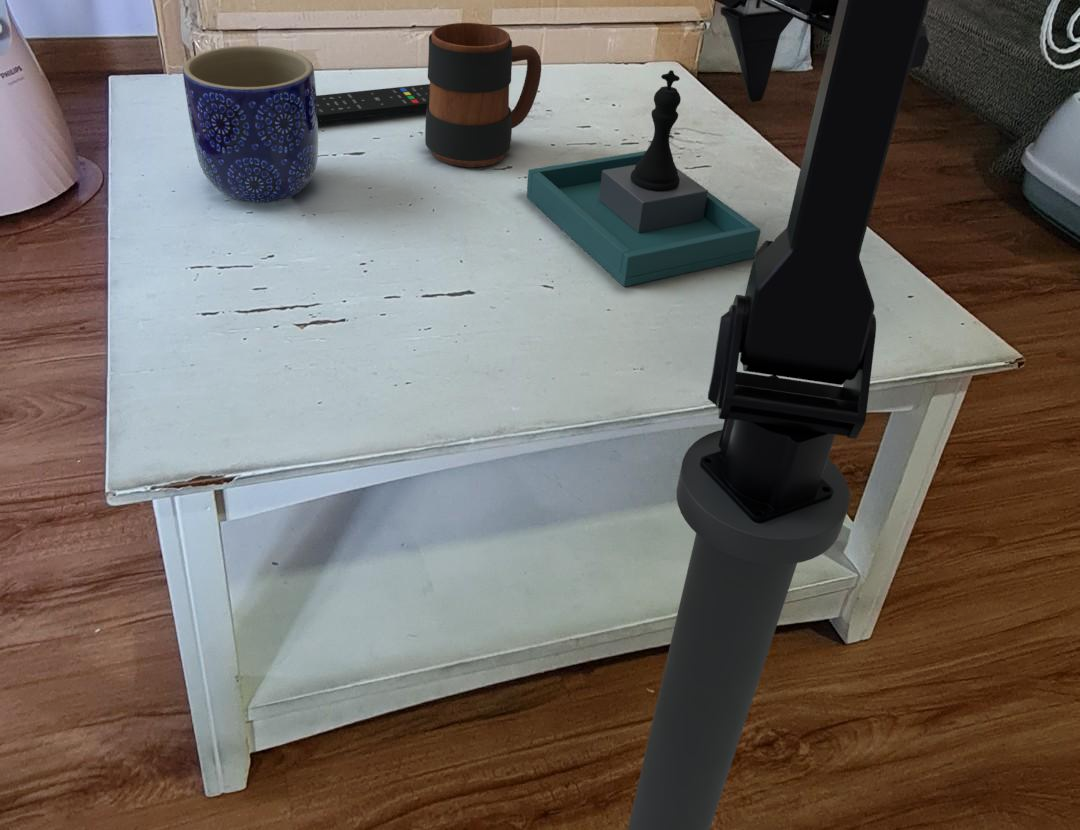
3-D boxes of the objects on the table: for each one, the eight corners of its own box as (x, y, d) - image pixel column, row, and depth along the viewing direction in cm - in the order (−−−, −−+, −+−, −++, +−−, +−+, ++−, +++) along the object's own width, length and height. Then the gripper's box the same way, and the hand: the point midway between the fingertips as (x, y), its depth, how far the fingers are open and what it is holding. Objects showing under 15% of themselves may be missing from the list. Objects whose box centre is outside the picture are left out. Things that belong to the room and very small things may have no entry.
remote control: (468, 110, 110) (468, 98, 109) (248, 136, 101) (247, 123, 100) (450, 93, 114) (450, 81, 113) (236, 116, 104) (235, 103, 104)
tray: (754, 258, 88) (761, 229, 86) (624, 287, 82) (628, 257, 81) (646, 176, 100) (650, 149, 98) (526, 197, 94) (528, 169, 92)
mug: (554, 158, 101) (564, 42, 94) (444, 174, 97) (446, 53, 90) (517, 127, 107) (523, 15, 100) (412, 140, 103) (411, 23, 95)
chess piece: (676, 194, 88) (695, 82, 82) (627, 187, 89) (642, 75, 82) (681, 174, 91) (699, 65, 85) (633, 167, 92) (648, 58, 86)
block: (703, 220, 91) (708, 190, 89) (638, 233, 88) (642, 202, 86) (660, 188, 96) (665, 159, 94) (598, 200, 93) (601, 169, 91)
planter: (228, 224, 86) (211, 97, 79) (182, 176, 93) (162, 55, 86) (343, 197, 91) (336, 76, 85) (291, 153, 98) (281, 38, 91)
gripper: (1017, -62, 69) (945, 153, 78) (836, -118, 81) (793, 73, 91) (898, -54, 64) (837, 173, 74) (726, -115, 77) (693, 85, 87)
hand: (789, 121), depth 81 cm, fingers open, 9 cm apart
